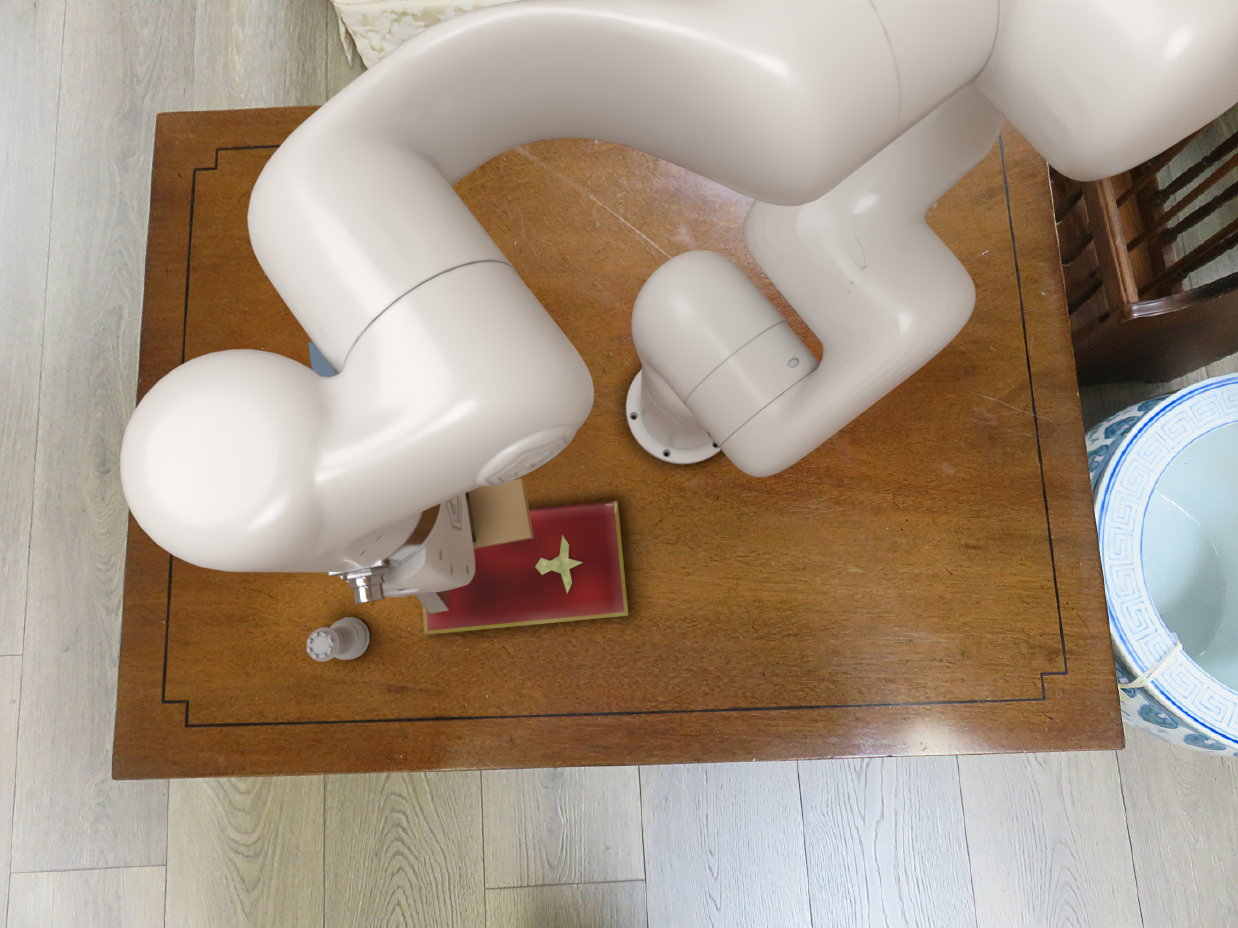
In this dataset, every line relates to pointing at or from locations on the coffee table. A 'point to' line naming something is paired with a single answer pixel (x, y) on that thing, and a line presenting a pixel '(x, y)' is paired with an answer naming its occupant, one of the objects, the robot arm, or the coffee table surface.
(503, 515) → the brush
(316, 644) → the rook chess piece
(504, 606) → the hardcover book
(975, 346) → the coffee table surface
